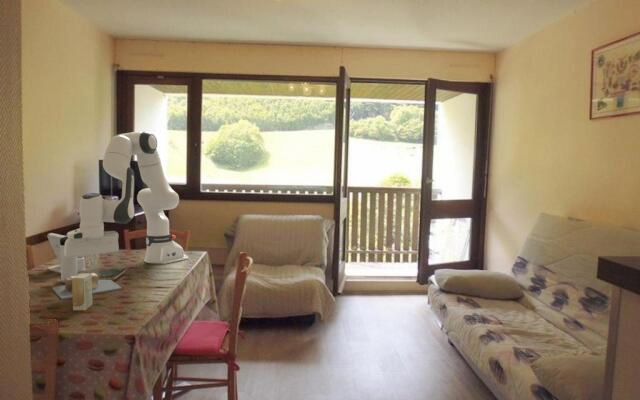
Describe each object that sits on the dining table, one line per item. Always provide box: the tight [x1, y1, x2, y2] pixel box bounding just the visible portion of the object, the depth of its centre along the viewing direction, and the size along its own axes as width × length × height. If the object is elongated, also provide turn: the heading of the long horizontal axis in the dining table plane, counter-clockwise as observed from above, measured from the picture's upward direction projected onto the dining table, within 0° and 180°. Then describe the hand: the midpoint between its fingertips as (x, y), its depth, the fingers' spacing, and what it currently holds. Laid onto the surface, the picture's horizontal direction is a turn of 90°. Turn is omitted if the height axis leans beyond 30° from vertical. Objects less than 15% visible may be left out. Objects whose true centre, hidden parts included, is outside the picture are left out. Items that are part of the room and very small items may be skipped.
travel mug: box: [59, 237, 78, 284], centre depth 183 cm, size 6×7×20 cm
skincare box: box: [72, 272, 93, 311], centre depth 153 cm, size 6×4×12 cm
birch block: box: [64, 272, 99, 292], centre depth 173 cm, size 5×5×11 cm
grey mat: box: [51, 279, 123, 301], centre depth 175 cm, size 22×18×1 cm
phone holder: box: [46, 232, 86, 274], centre depth 201 cm, size 17×10×18 cm, turn 60°
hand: (92, 264), depth 175 cm, fingers closed
